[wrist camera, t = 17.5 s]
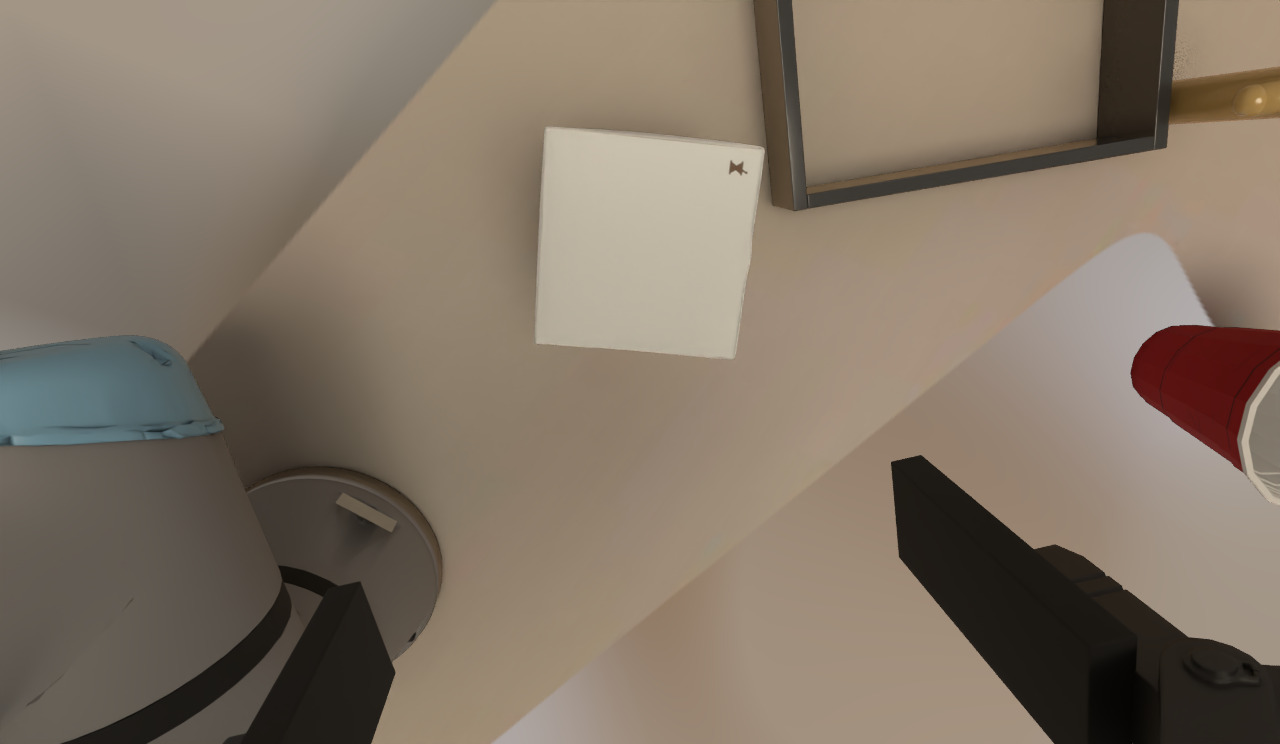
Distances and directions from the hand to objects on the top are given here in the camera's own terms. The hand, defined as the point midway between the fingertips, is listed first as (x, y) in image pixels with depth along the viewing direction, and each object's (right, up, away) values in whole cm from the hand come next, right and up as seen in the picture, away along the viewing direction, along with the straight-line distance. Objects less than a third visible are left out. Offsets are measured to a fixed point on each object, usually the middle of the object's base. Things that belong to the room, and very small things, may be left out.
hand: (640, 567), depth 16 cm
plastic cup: (+37, +6, +31) cm, 49 cm away
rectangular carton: (-1, +14, +25) cm, 29 cm away
